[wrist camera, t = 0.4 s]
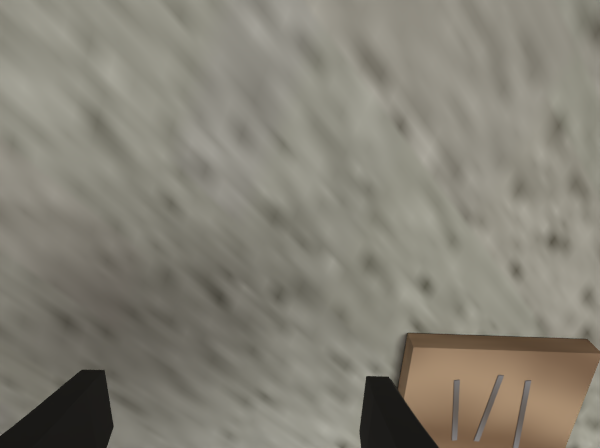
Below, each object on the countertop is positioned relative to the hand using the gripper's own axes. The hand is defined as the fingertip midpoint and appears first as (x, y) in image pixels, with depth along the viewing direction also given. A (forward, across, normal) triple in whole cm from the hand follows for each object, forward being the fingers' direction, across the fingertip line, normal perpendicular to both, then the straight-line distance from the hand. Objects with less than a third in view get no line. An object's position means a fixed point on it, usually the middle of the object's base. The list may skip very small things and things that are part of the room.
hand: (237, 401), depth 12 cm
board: (+10, -13, +12) cm, 20 cm away
